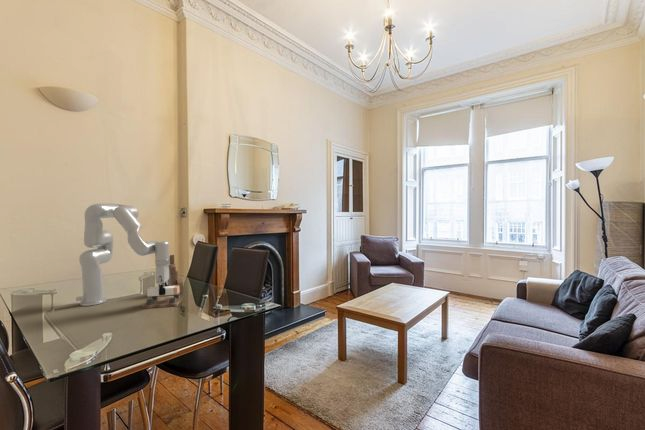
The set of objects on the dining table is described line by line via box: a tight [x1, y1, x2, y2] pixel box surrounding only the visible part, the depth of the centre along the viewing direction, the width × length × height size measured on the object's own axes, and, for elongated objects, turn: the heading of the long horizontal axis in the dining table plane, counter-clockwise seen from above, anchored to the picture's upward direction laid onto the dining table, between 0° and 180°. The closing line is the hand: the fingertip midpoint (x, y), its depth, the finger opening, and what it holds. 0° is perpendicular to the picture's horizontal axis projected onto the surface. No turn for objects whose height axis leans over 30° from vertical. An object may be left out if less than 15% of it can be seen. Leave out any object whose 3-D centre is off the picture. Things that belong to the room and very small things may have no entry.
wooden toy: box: [168, 254, 184, 295], centre depth 201 cm, size 15×7×25 cm, turn 38°
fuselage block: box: [146, 286, 180, 298], centre depth 178 cm, size 16×5×4 cm, turn 101°
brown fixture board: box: [141, 293, 184, 310], centre depth 178 cm, size 18×14×4 cm
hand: (163, 293), depth 178 cm, fingers closed on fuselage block, 5 cm apart
